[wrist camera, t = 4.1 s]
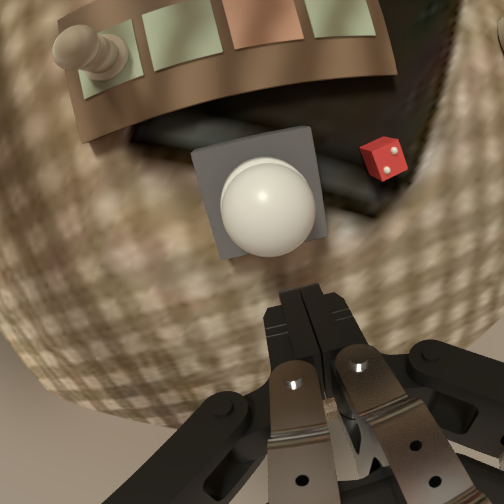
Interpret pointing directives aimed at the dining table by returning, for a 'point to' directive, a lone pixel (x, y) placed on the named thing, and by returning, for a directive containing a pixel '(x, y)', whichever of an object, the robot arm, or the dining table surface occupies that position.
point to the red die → (383, 158)
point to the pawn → (90, 52)
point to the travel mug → (501, 31)
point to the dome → (267, 207)
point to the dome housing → (240, 150)
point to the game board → (220, 53)
